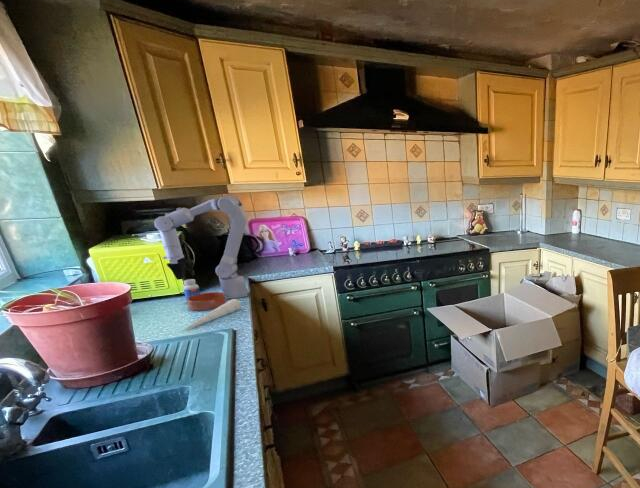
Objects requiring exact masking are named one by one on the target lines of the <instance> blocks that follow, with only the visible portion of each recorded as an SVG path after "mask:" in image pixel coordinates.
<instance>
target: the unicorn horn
mask: <svg viewBox="0 0 640 488" xmlns="http://www.w3.org/2000/svg"><path fill="white" fill-rule="evenodd" d="M241 309H242V303H241V301H240V300H238V298H231V299H229V300H228V301H226V303H225V304H223V305H221V306H220V307H218V308H216V309H212V310H210V312H208V313H206V314H205V315H203V316H202V317H200V318H198V319H197V320H195V321H194V322H192V323H191V324H189V325H187V327H185V329H184V330H189V329H192V328H194V327H195V328H196V327H198V326H201V325H203V324H206V323H209V322H211V321H214V320H217V319H219V318H221V317H224V316H227V315H229V314H232V313H234V312H237V311H239V310H241Z"/></svg>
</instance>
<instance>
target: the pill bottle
mask: <svg viewBox="0 0 640 488" xmlns="http://www.w3.org/2000/svg"><path fill="white" fill-rule="evenodd" d="M183 285H184V286H183V287H182V288H183V293H184V297H185V300H186V302H187V298H189V297H191V296H194V295H198V294H202V293H201V290H200V286H199V285H198V284H197V282H196V279H194V278H189V279H185V280H184V279H183Z"/></svg>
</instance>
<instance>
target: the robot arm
mask: <svg viewBox="0 0 640 488" xmlns="http://www.w3.org/2000/svg"><path fill="white" fill-rule="evenodd" d="M211 210H215V211H222V212H223V213H224V214H226V215H227V216H228V217H229V219H231V221H232V223H231V226H230V230H229V233H228V236H227V240H226V243H225V249H224V251H223V255H222V256H221V259H220V262H219V264H218V265H217V266H216V267H215V274H216V276H217V277H218V280H219V284H220V287H221V291H222V292H221V293H224V294H225V298H226V300H232V299H238V298H246V297H249V293H248V292H249V290H248V287H247V285H246V281H245V280H246V279H245V277H244V276H245V275H239V274H238V273H237V271H238V264H237V263H238V254H239V251H240V247H241V244H242V240H243V238H244V233H245V230H246V226H247V222H248V218H247V214H246V212H245V209H244V204H243V203H242V201H241V200H240V199H239V198H238V197H237V196H235V195H232V194H228V195H226V196H221V197H216V198H212V199H209V200H207V201H204V202H202V203H200V204H197V205H196V206H193V207H191V208H187V207H177V208H176V210H174V211H172V212H166V213H164V215H161V216H158V217H157V218H155V219H154V221H153V225H154V228H156V229H157V230H158V232H159V236H160V240H161V243H162V247H163V250H164V255H165V256H162V259H163V260H168V261H169V262H168V263H166V267H168V268H169V270H171V272H172V273H173V275H174V277H175V279H176V280H178V281H179V280H184V276H185V275H186V268H185V267H186V266H185V263H186V259H187V258H186V257H185V254H183V253H184V252H183V249H182V246H181V241H180V238H179V235H178V232H177V229H176V228H178V227H181V226H183V225H185V224H188V223H191V222H193V221H194V219H195V217H196V216H199V215H201V214H203V213H206V212H208V211H211Z"/></svg>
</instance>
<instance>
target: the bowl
mask: <svg viewBox="0 0 640 488" xmlns="http://www.w3.org/2000/svg"><path fill="white" fill-rule="evenodd" d="M226 302H227V299H226V298H225V294H224V293H223V292H220V291H219V292H217V291H215V292H213V291H212V292H204V293H201V294H198V295H194V296H191V297H189V298H187V301H186V304H187V307H188V309H189V310H190V311H194V312H195V311H196V312H202V311H204V312H205V311H213V310H215V309H216V308H218V307H220V306H221V305H223V304H225V303H226Z"/></svg>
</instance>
